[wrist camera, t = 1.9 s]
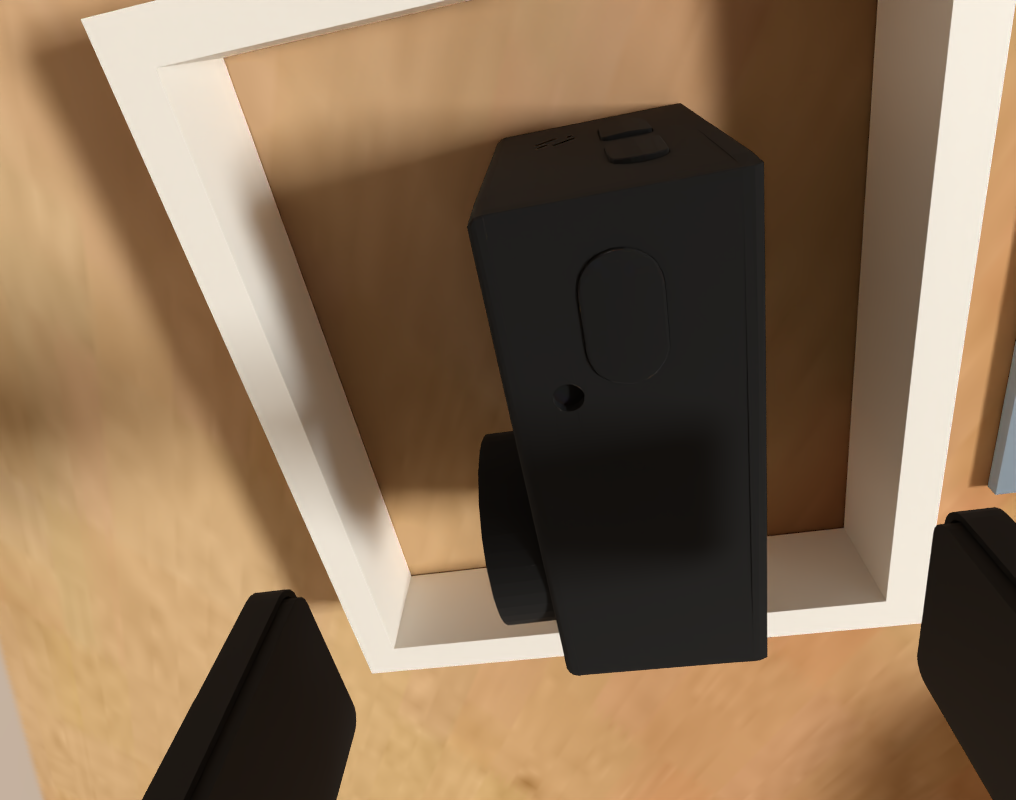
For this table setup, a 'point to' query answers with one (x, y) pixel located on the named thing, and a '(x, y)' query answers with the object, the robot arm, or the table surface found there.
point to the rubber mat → (1006, 441)
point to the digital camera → (628, 390)
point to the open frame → (326, 412)
